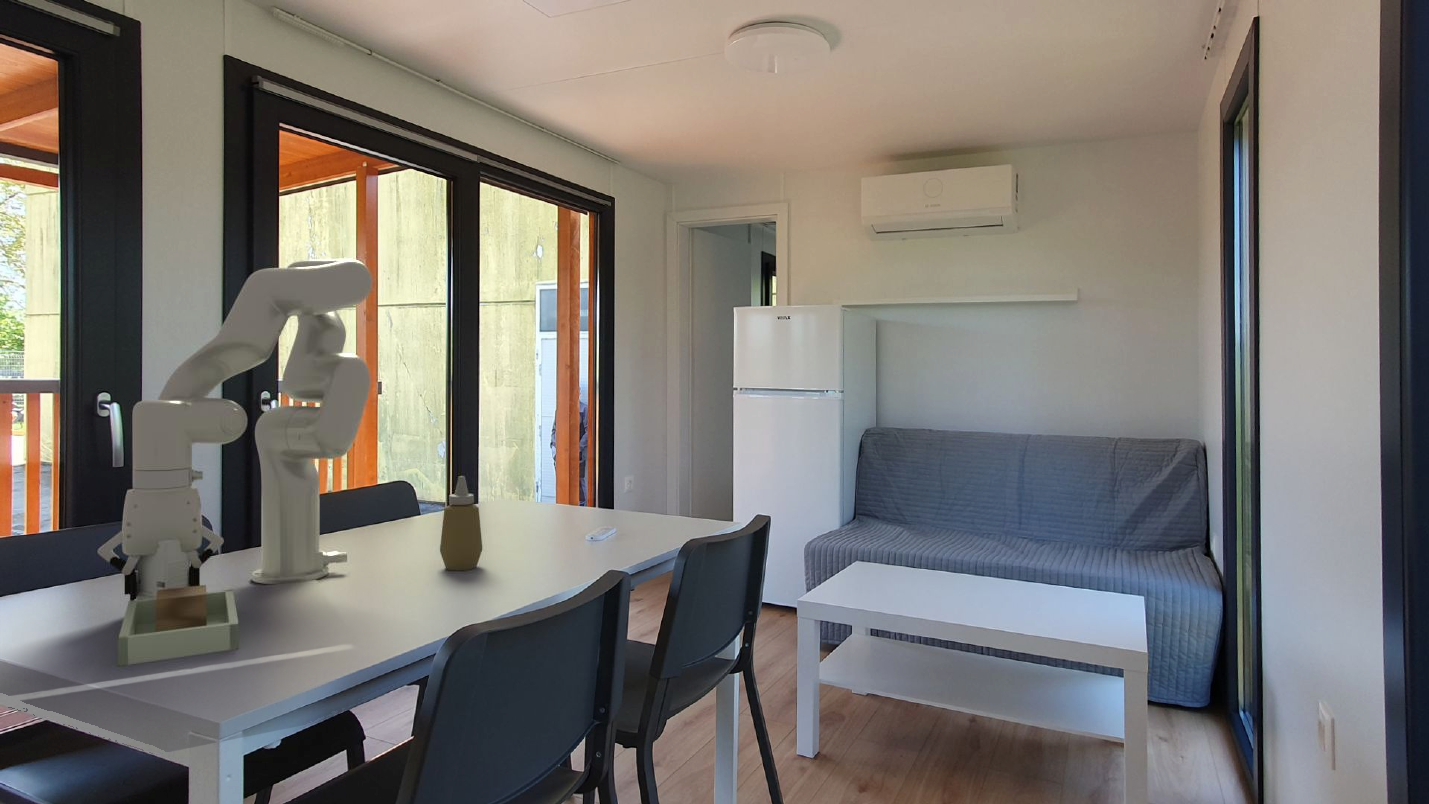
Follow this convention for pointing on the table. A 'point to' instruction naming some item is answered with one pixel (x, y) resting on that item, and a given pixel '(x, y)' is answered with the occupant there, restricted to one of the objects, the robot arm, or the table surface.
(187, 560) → the skincare box
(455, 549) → the squeeze bottle
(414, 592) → the table surface
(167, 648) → the tote
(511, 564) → the table surface
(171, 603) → the walnut block
